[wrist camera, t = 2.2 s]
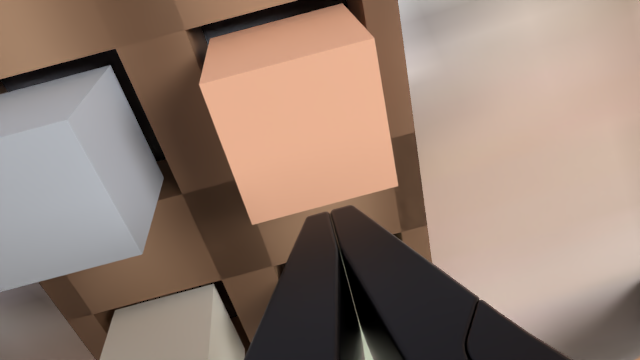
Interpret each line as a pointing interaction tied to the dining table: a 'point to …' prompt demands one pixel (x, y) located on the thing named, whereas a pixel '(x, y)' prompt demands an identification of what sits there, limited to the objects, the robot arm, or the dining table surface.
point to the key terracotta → (300, 112)
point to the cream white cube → (174, 329)
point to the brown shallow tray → (199, 154)
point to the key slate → (72, 178)
